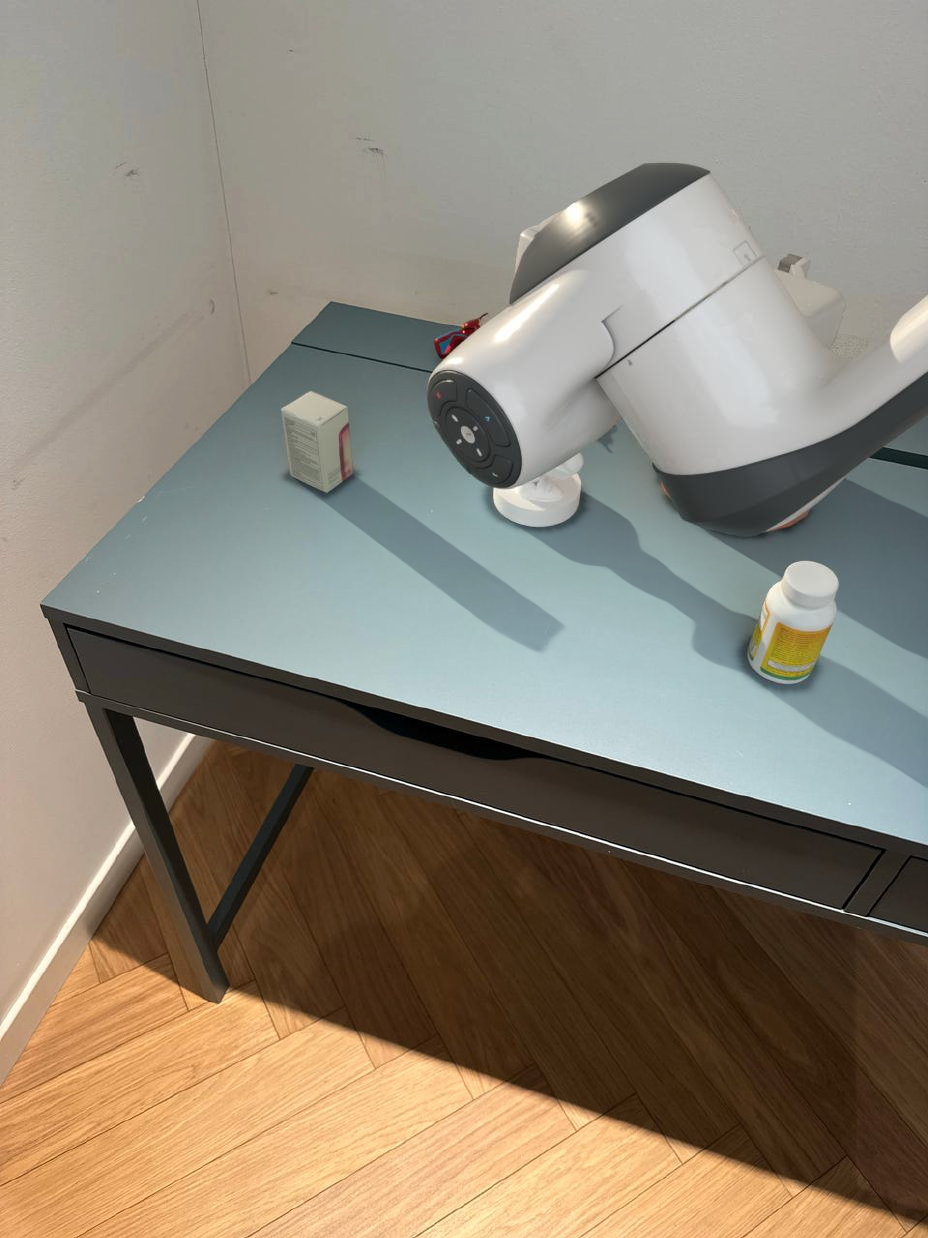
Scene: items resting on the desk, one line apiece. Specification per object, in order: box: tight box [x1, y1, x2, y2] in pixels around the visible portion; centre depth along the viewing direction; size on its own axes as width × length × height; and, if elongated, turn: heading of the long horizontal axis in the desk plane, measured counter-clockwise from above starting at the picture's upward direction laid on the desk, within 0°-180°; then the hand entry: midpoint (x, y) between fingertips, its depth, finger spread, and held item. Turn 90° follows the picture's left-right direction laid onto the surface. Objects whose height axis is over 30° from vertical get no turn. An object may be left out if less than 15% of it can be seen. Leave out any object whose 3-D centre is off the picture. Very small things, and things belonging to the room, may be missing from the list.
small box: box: [280, 390, 354, 494], centre depth 93 cm, size 5×4×8 cm
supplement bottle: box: [746, 560, 840, 685], centre depth 76 cm, size 5×5×10 cm
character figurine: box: [492, 452, 584, 528], centre depth 90 cm, size 9×10×12 cm
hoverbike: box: [433, 312, 489, 360], centre depth 109 cm, size 5×12×6 cm, turn 77°
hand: (734, 246), depth 66 cm, fingers open, 8 cm apart
